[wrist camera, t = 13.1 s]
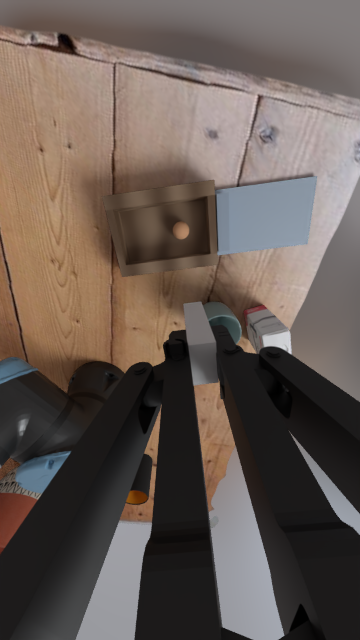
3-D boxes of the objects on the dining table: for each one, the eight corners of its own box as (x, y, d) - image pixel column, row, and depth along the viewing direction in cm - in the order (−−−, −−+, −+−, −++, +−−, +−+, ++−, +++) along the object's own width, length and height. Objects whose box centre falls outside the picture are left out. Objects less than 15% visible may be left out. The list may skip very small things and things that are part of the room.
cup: (197, 330, 46) (202, 354, 37) (192, 299, 43) (197, 318, 34) (229, 325, 46) (242, 348, 37) (227, 294, 43) (241, 311, 34)
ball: (174, 240, 38) (173, 240, 35) (171, 222, 36) (171, 222, 34) (189, 238, 37) (190, 238, 35) (187, 220, 36) (188, 219, 33)
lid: (214, 254, 40) (218, 257, 36) (211, 191, 35) (216, 186, 31) (303, 243, 39) (318, 245, 35) (312, 177, 35) (330, 170, 31)
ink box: (241, 310, 44) (262, 335, 34) (263, 304, 44) (291, 327, 33) (247, 341, 48) (267, 373, 37) (268, 335, 47) (294, 367, 36)
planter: (59, 445, 63) (7, 540, 44) (79, 479, 71) (42, 572, 52) (2, 450, 64) (-75, 546, 45) (28, 483, 72) (-27, 576, 53)
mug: (131, 473, 71) (123, 511, 61) (127, 453, 66) (118, 490, 56) (153, 473, 71) (150, 510, 61) (151, 452, 66) (147, 489, 56)
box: (127, 272, 40) (122, 277, 36) (110, 200, 35) (101, 196, 31) (213, 261, 40) (217, 264, 36) (209, 185, 34) (214, 179, 30)
